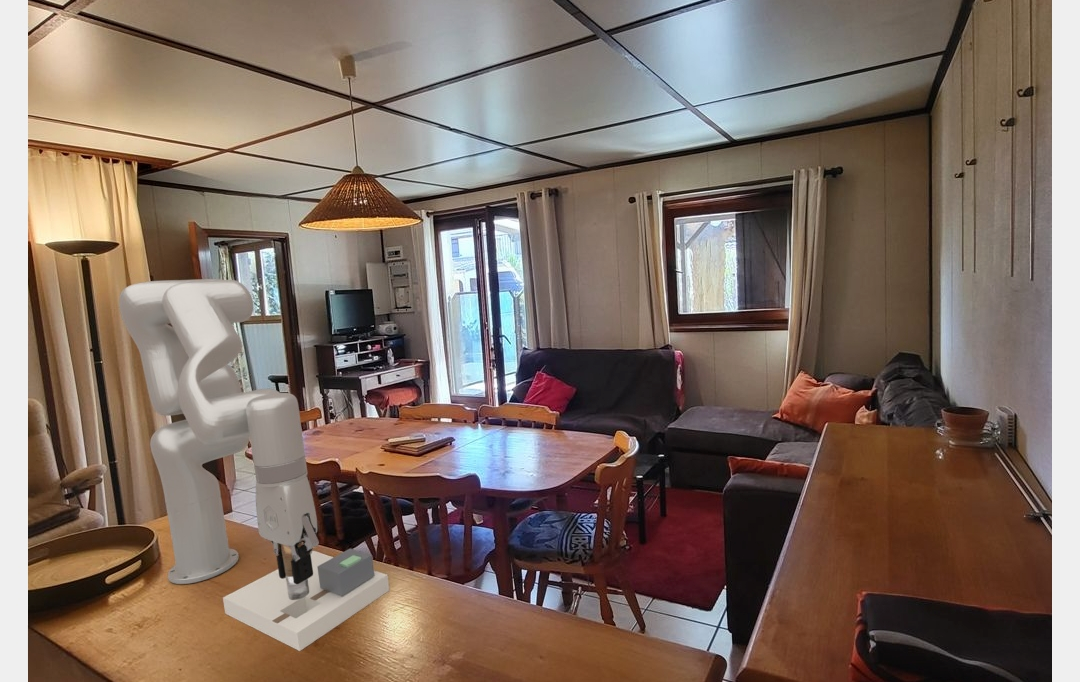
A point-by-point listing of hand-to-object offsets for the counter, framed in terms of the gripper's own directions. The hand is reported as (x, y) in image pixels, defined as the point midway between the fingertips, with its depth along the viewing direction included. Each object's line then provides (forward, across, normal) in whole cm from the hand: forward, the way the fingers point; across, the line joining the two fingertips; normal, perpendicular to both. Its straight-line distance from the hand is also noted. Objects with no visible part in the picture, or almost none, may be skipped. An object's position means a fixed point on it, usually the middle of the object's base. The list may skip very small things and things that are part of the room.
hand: (296, 576), depth 89 cm
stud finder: (+6, +1, +8) cm, 10 cm away
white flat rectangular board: (+8, -5, +4) cm, 11 cm away
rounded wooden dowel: (+3, 0, 0) cm, 3 cm away
